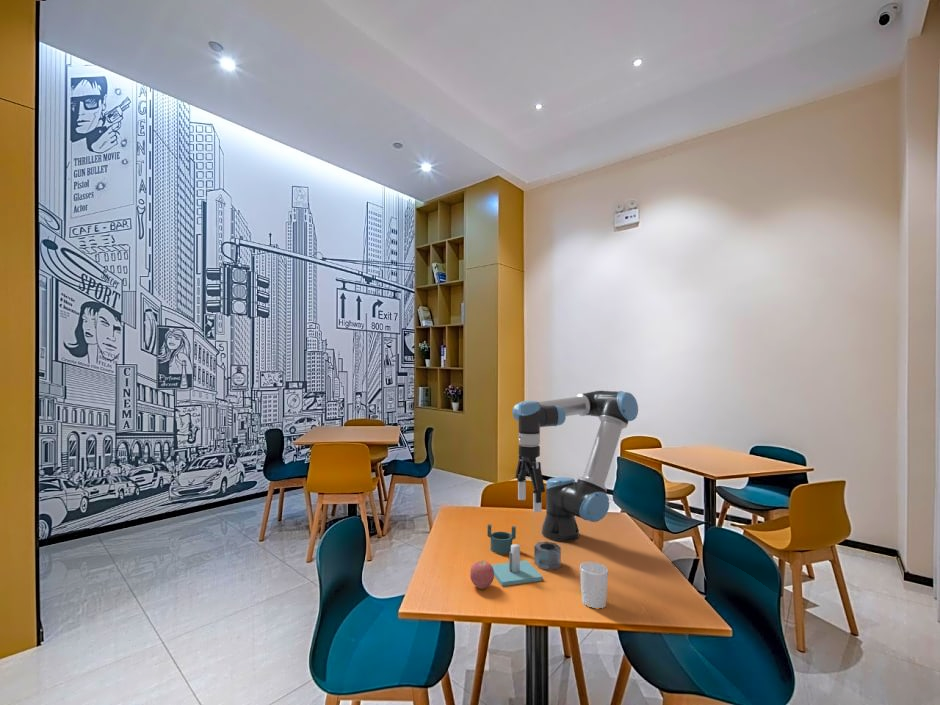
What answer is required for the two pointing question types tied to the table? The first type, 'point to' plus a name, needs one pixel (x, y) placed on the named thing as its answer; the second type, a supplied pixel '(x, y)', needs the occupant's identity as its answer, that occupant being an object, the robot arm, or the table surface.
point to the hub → (547, 555)
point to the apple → (482, 574)
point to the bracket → (501, 540)
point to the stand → (515, 570)
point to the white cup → (594, 584)
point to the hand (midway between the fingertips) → (529, 505)
